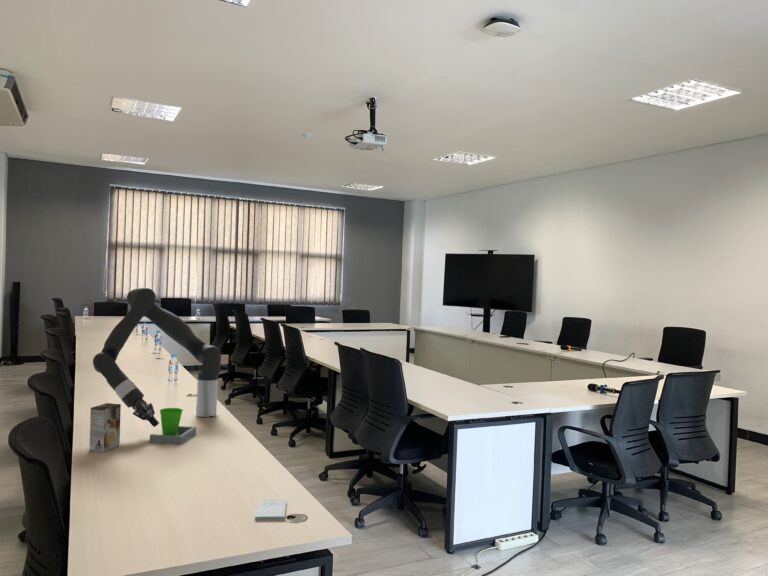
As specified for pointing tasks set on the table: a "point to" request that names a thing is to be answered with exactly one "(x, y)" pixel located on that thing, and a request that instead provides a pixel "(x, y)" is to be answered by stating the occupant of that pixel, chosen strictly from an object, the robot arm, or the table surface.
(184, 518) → the table surface
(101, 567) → the table surface
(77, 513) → the table surface
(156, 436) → the grey cradle
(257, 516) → the external hard drive
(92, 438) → the coffee box
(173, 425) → the cup
